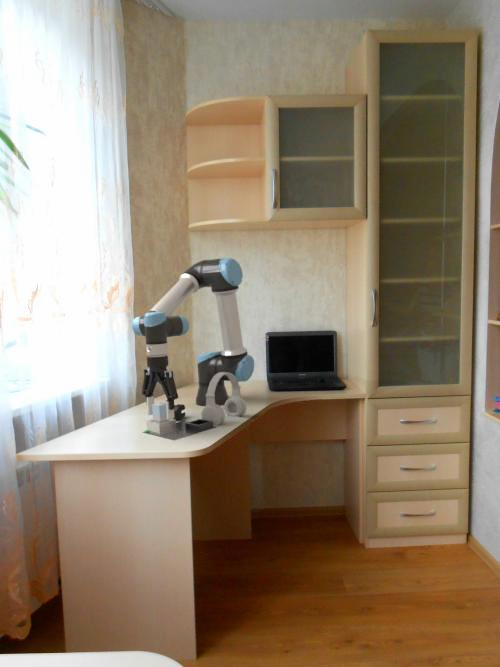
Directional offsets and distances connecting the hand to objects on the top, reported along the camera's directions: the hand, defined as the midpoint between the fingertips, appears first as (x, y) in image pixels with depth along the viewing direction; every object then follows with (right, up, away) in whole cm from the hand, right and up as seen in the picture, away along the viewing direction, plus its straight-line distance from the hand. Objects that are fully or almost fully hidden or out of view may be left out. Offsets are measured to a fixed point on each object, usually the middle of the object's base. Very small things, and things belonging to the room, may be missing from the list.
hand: (160, 416), depth 185 cm
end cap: (+1, -5, +19) cm, 20 cm away
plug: (0, -5, 0) cm, 5 cm away
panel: (+7, -6, +1) cm, 9 cm away
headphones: (+22, -5, +14) cm, 27 cm away
